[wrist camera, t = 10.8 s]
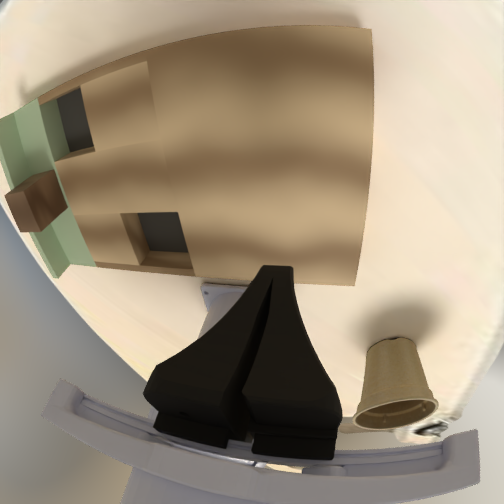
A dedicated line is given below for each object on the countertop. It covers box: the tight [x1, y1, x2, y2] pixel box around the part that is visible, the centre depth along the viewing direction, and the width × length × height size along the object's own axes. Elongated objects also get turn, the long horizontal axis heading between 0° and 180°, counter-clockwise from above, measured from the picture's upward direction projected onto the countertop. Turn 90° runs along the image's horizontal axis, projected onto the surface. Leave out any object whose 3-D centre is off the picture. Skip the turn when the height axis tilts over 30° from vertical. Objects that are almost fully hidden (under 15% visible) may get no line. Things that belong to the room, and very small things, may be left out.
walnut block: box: [5, 169, 68, 232], centre depth 20 cm, size 4×4×4 cm
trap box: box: [0, 25, 374, 286], centre depth 19 cm, size 18×30×5 cm, turn 96°
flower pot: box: [353, 338, 439, 430], centre depth 26 cm, size 9×9×9 cm
